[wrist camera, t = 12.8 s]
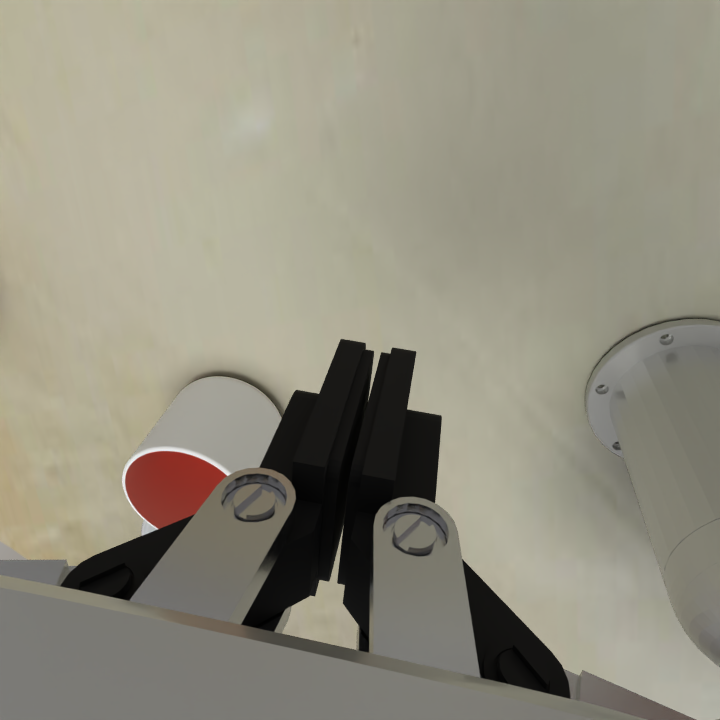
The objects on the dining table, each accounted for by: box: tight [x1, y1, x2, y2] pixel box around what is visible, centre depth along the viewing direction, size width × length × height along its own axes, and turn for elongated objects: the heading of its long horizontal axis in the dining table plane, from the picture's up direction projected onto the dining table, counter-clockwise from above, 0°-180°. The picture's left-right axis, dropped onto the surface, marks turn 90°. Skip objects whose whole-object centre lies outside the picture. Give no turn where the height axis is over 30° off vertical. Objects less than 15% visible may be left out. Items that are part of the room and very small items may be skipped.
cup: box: [122, 376, 282, 529], centre depth 46 cm, size 10×10×10 cm
